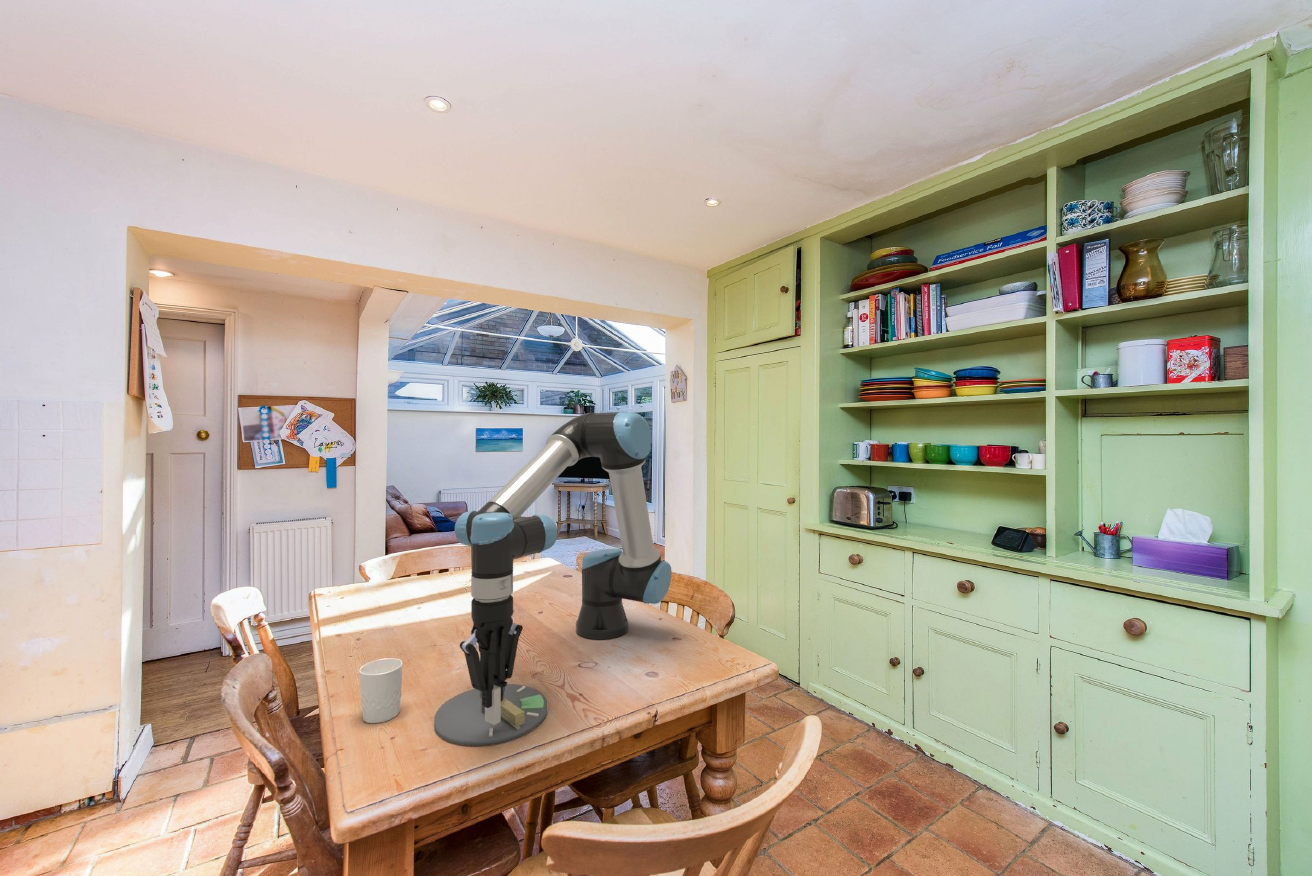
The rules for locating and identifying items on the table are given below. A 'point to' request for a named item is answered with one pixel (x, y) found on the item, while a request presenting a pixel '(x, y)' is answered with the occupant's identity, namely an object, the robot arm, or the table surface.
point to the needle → (509, 711)
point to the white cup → (380, 689)
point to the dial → (467, 721)
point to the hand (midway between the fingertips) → (492, 721)
